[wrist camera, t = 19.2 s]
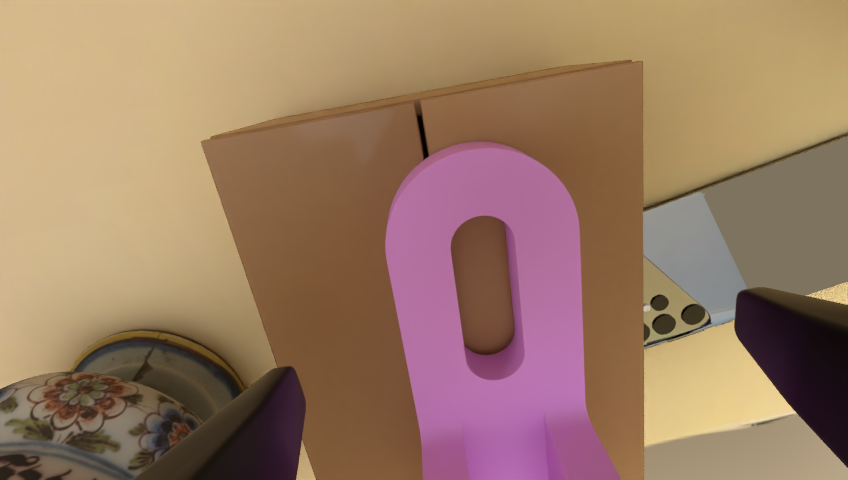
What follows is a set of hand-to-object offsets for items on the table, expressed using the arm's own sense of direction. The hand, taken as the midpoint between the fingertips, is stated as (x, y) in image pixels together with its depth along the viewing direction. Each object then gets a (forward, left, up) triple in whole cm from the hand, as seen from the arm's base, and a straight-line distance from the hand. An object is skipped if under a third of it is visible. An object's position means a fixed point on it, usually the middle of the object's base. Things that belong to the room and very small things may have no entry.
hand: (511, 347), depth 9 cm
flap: (-2, +3, -6) cm, 7 cm away
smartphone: (-14, +5, -13) cm, 20 cm away
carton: (+1, +3, -13) cm, 13 cm away
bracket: (0, +3, -6) cm, 6 cm away
